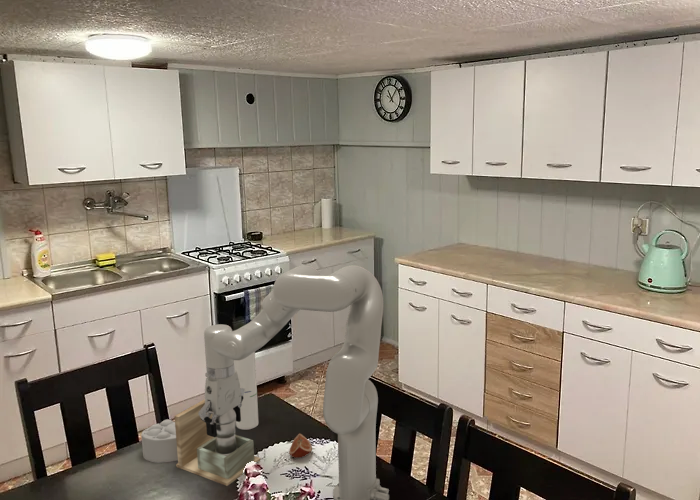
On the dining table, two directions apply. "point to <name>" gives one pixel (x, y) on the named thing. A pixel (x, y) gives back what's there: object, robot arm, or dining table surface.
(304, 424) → the dining table surface
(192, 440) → the wall caddy
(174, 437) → the lumpy-topped squat cylinder
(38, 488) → the dining table surface
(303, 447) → the fruit slice
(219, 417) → the plastic bottle
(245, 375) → the cylindrical container
